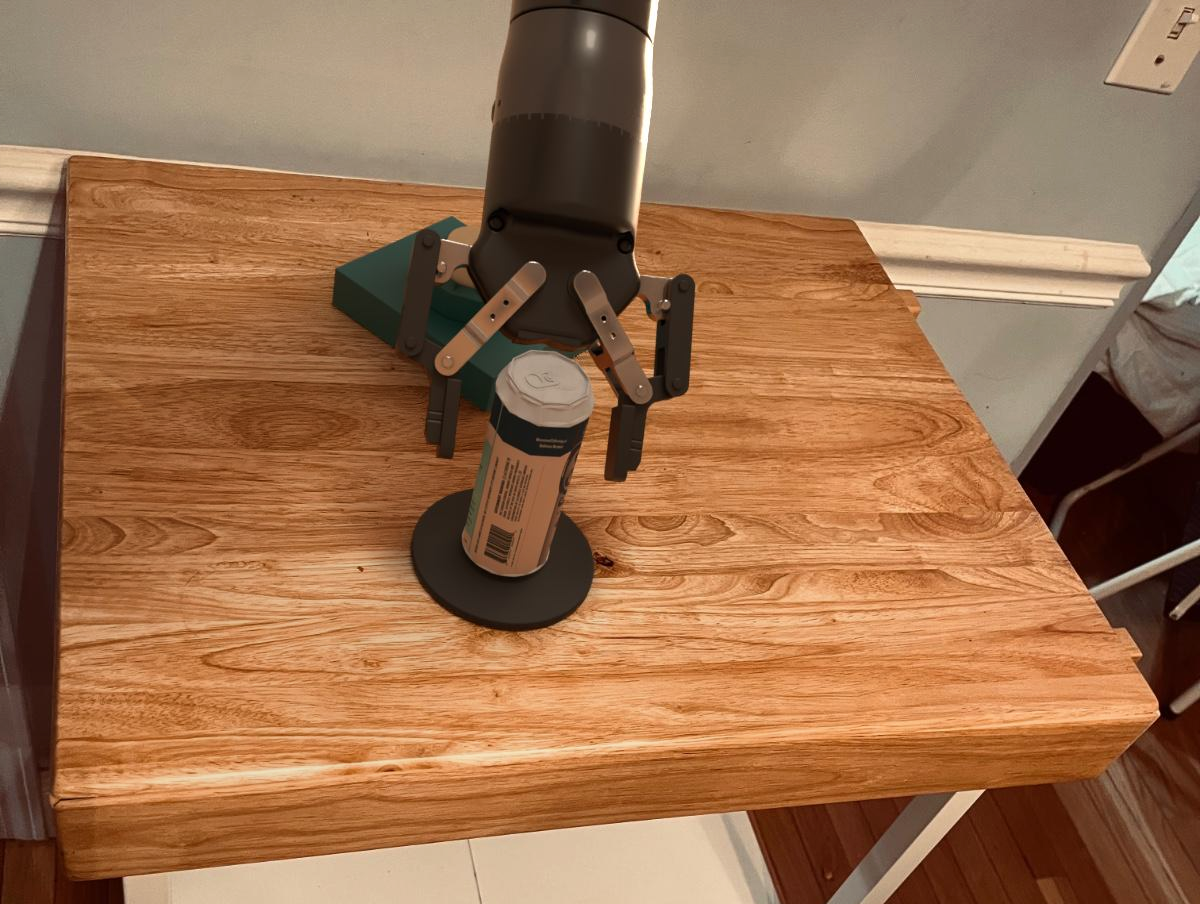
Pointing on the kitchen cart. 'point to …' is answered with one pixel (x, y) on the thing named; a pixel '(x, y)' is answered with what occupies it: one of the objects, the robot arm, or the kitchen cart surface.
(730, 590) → the kitchen cart surface
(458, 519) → the coaster
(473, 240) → the button
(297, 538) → the kitchen cart surface
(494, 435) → the beer can
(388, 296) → the push button base
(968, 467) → the kitchen cart surface
